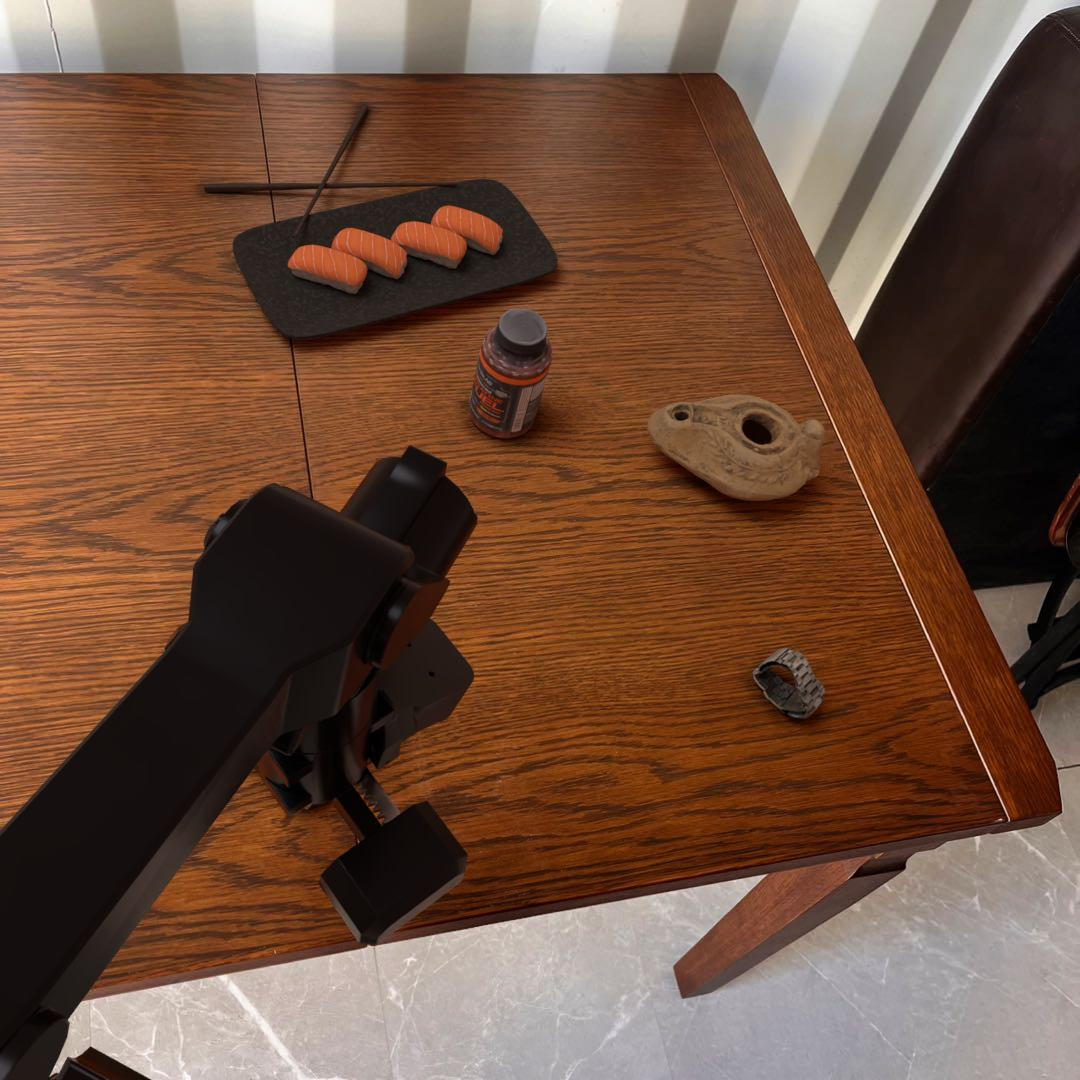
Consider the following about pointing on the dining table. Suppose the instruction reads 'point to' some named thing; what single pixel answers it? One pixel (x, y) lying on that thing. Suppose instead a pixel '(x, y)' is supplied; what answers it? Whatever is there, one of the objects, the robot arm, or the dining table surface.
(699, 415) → the oil lamp
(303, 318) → the sushi plate
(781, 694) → the wristwatch
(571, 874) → the dining table surface
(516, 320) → the supplement bottle
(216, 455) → the dining table surface
